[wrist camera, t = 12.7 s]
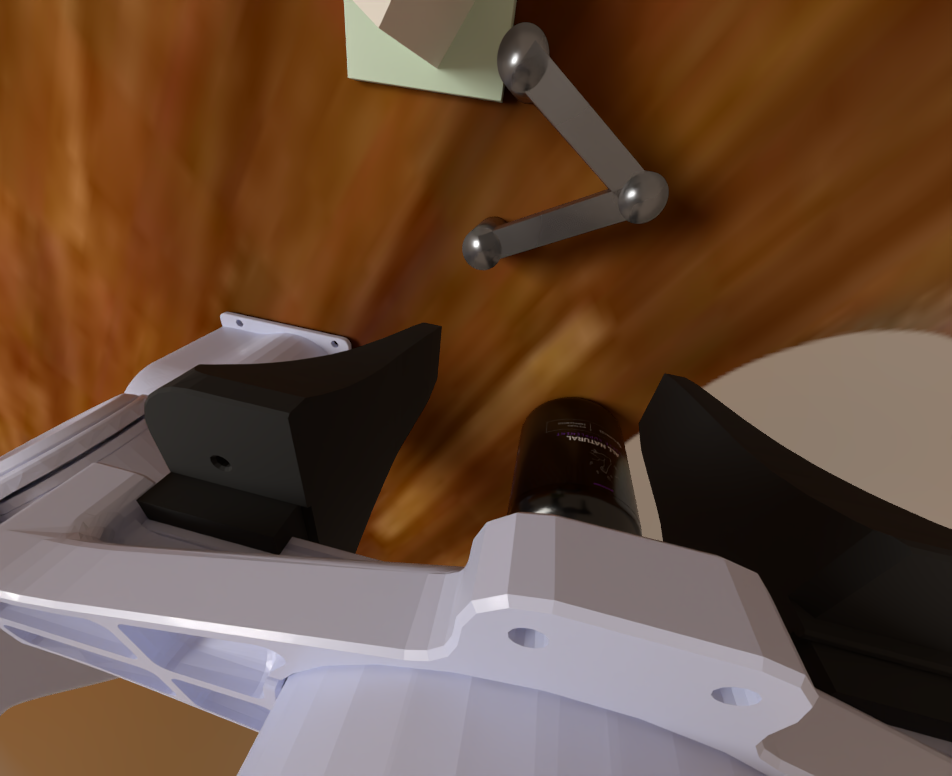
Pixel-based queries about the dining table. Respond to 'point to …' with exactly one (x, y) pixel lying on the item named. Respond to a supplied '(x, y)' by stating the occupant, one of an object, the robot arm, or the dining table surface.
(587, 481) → the supplement bottle
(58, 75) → the dining table surface
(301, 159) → the dining table surface
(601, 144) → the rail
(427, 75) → the pad
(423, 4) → the block
